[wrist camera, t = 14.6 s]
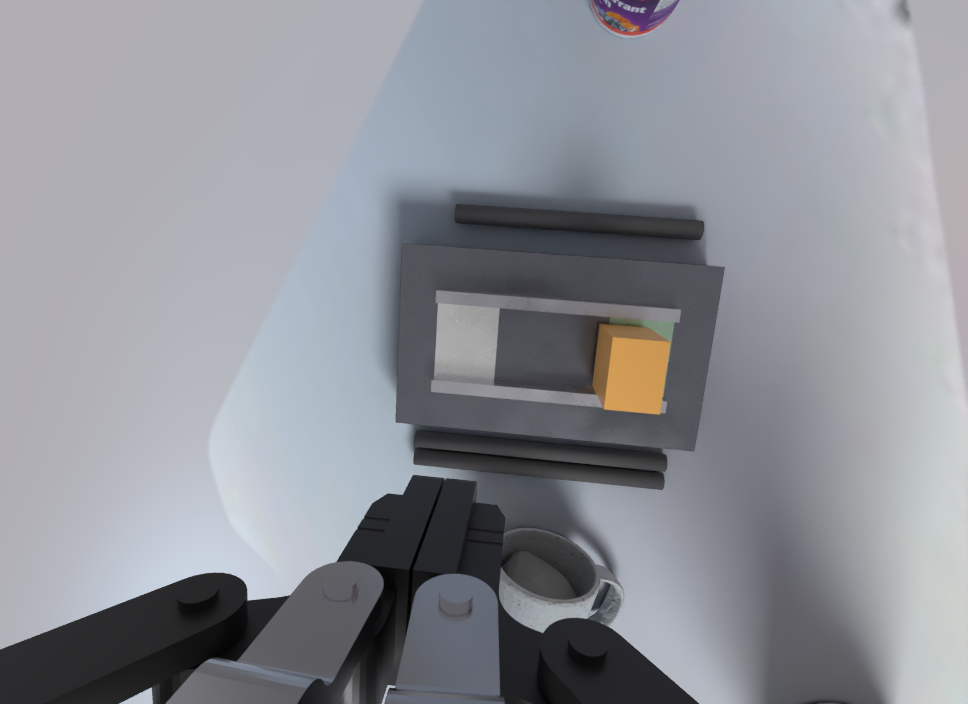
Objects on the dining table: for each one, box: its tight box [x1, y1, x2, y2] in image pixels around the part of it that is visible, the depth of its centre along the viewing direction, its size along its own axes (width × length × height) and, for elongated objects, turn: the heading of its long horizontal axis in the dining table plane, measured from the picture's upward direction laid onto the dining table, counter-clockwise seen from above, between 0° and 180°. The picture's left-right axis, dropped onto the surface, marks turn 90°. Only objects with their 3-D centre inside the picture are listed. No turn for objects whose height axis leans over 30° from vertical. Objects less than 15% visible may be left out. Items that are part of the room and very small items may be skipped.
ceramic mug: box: [499, 528, 624, 633], centre depth 36 cm, size 11×8×8 cm
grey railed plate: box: [414, 204, 704, 490], centre depth 35 cm, size 18×19×1 cm
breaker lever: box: [592, 324, 671, 415], centre depth 30 cm, size 3×4×5 cm
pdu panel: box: [396, 243, 725, 451], centre depth 34 cm, size 20×12×4 cm, turn 86°
